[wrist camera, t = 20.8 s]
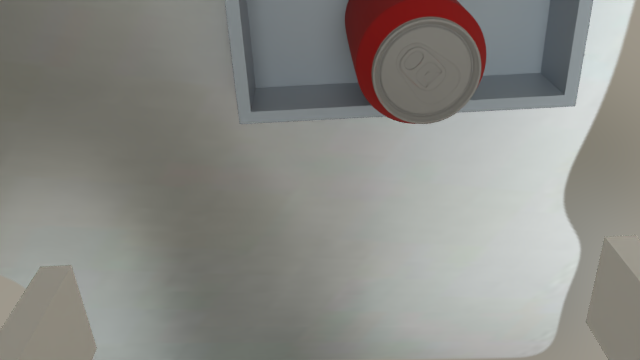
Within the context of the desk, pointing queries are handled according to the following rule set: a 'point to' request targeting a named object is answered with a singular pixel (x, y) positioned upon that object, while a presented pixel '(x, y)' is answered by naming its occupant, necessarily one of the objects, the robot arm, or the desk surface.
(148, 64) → the desk surface
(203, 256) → the desk surface
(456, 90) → the beverage can
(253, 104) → the tote
